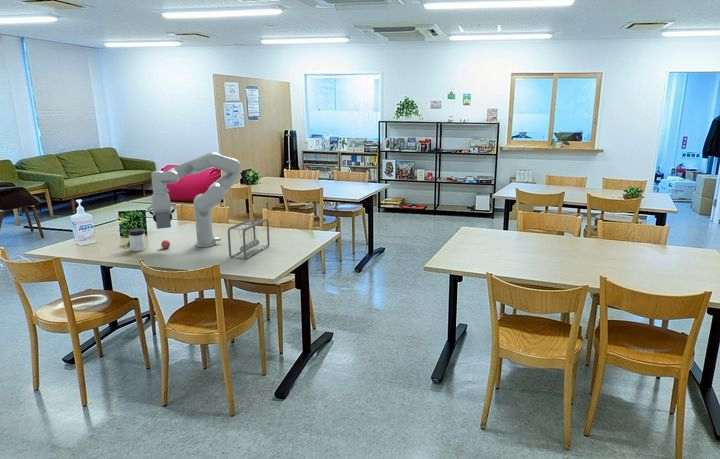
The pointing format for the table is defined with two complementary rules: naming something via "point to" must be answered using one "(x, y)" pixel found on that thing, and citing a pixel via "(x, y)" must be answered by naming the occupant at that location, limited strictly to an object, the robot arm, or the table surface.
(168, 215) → the gray cube
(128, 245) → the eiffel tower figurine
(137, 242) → the jar
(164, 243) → the ball
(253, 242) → the newton's cradle
